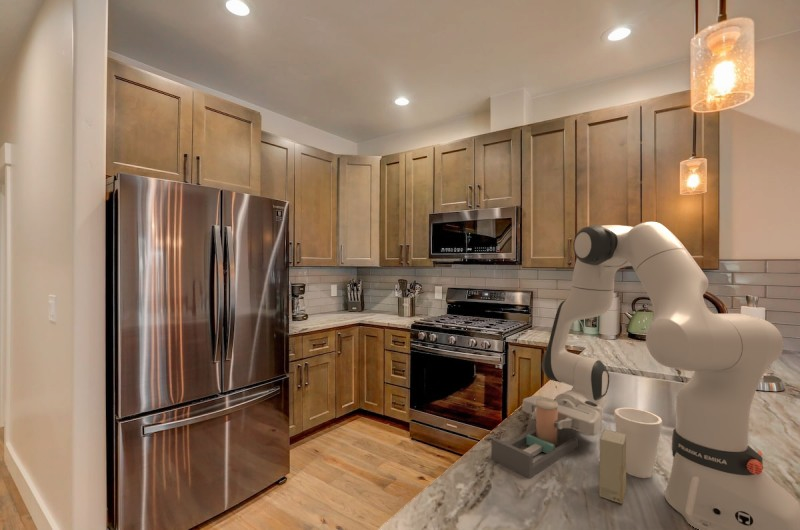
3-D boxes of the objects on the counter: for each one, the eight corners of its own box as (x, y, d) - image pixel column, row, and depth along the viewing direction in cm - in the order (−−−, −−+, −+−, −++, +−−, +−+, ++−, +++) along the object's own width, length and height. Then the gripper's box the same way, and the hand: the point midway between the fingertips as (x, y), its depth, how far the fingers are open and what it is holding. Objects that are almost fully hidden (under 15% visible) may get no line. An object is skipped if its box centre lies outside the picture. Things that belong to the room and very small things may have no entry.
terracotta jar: (561, 443, 97) (562, 402, 97) (551, 450, 94) (551, 407, 94) (542, 436, 102) (542, 396, 101) (531, 442, 98) (532, 401, 98)
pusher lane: (540, 432, 106) (541, 414, 106) (577, 446, 98) (577, 428, 98) (491, 459, 91) (491, 438, 91) (529, 478, 83) (529, 456, 83)
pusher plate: (528, 443, 99) (528, 434, 99) (554, 454, 93) (554, 444, 93) (513, 451, 94) (513, 442, 94) (539, 463, 89) (539, 453, 89)
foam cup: (637, 484, 82) (639, 426, 81) (604, 462, 90) (605, 409, 90) (670, 478, 84) (672, 421, 84) (634, 457, 93) (636, 406, 93)
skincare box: (622, 505, 74) (623, 445, 74) (597, 496, 77) (599, 438, 77) (626, 490, 80) (627, 434, 79) (602, 482, 82) (604, 428, 82)
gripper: (537, 387, 114) (511, 397, 105) (608, 408, 98) (584, 422, 89) (536, 407, 114) (510, 419, 105) (607, 432, 98) (584, 448, 89)
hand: (545, 421), depth 97 cm, fingers closed on terracotta jar, 5 cm apart
